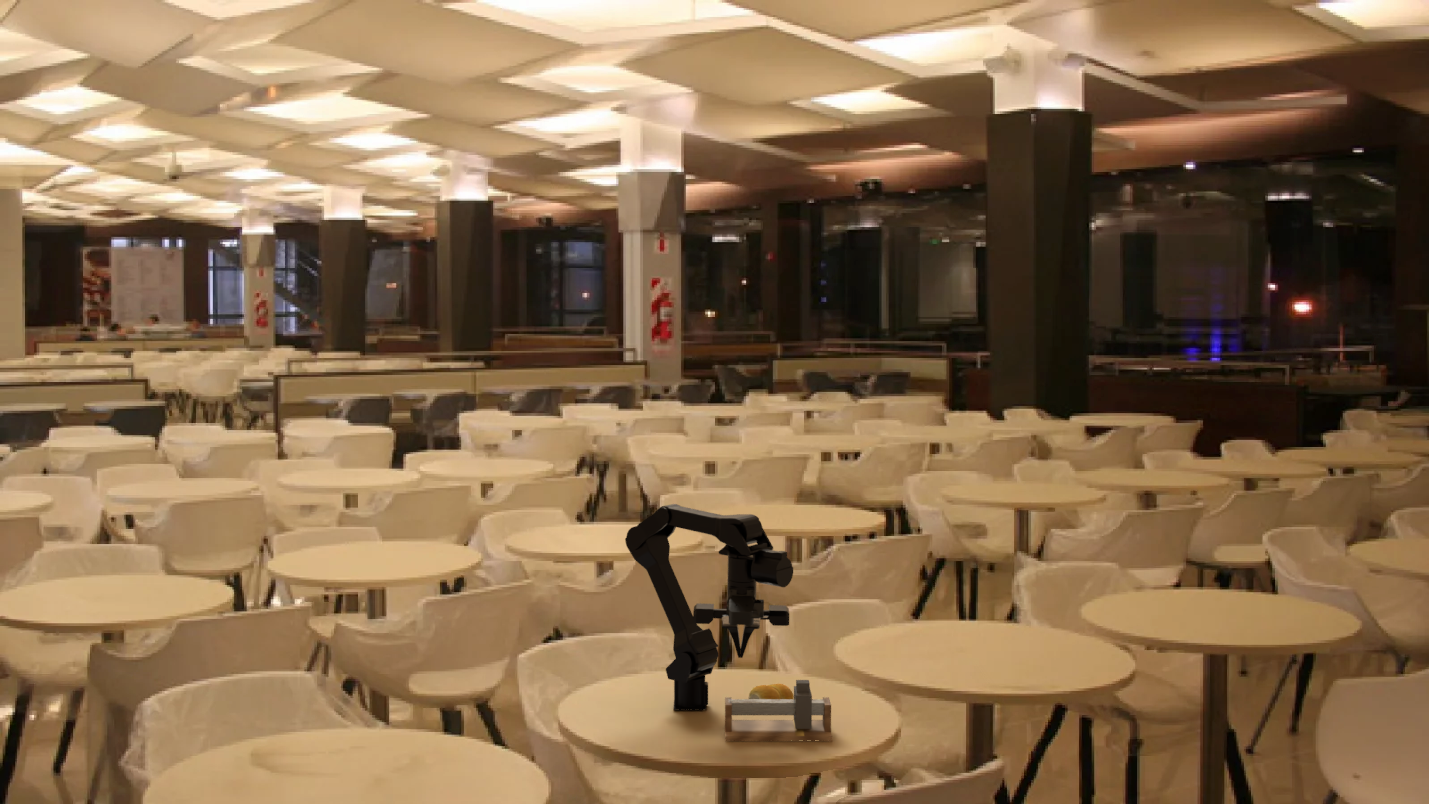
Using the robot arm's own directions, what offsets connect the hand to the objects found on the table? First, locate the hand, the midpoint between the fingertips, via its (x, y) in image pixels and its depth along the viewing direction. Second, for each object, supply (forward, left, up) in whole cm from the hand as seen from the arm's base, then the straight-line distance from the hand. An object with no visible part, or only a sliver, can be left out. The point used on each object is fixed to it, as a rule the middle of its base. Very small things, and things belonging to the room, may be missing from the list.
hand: (740, 657), depth 285 cm
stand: (+7, -9, -12) cm, 17 cm away
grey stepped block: (+12, -9, -10) cm, 18 cm away
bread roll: (+7, +11, -13) cm, 18 cm away
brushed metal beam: (+7, -9, -9) cm, 14 cm away
